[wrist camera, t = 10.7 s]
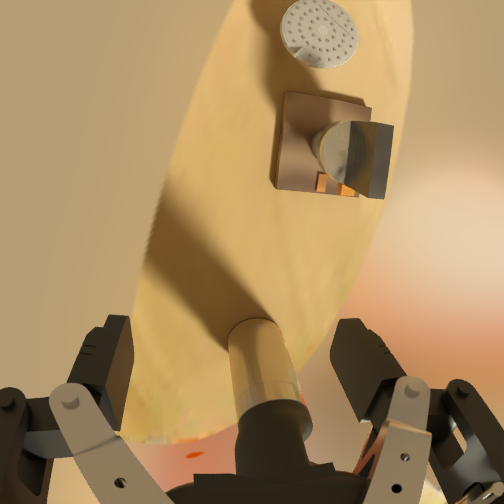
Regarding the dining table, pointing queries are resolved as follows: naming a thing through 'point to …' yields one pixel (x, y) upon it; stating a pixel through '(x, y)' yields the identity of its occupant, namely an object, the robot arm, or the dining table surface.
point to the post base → (309, 140)
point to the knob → (356, 156)
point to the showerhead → (319, 33)
